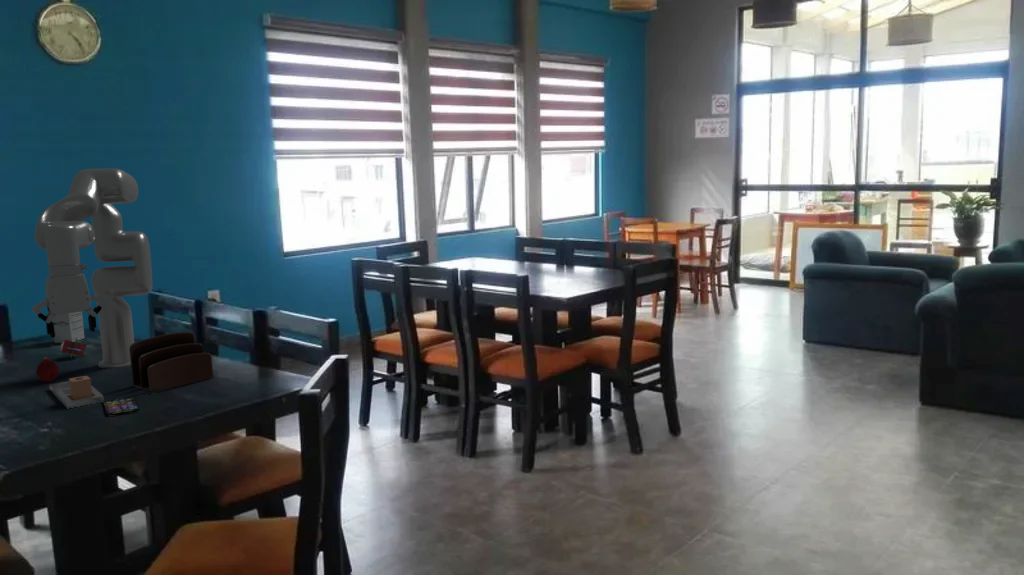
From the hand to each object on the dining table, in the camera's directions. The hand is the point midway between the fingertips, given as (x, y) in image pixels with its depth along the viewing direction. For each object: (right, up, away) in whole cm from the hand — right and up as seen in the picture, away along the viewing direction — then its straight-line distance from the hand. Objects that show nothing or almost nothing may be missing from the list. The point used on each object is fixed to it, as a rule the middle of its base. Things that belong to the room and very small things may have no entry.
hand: (72, 333), depth 222 cm
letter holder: (+19, -16, +20) cm, 32 cm away
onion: (-19, -16, +23) cm, 34 cm away
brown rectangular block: (+2, -18, +2) cm, 18 cm away
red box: (-29, -11, +56) cm, 64 cm away
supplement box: (-44, -8, +82) cm, 93 cm away
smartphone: (+15, -20, -3) cm, 25 cm away
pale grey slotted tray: (-3, -18, +7) cm, 20 cm away
